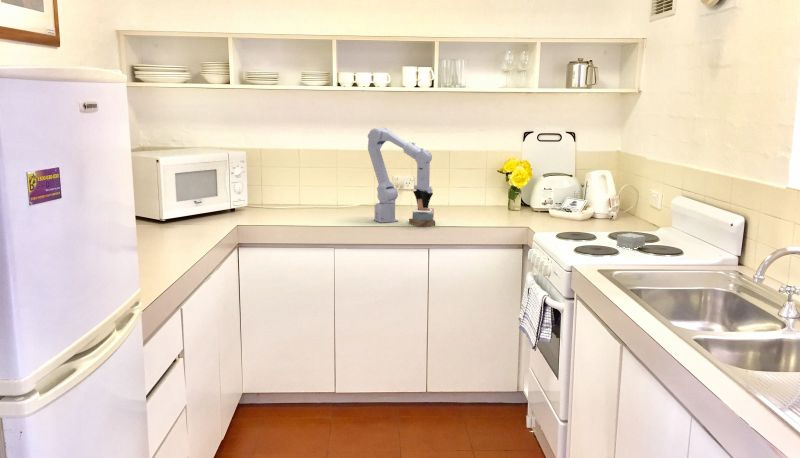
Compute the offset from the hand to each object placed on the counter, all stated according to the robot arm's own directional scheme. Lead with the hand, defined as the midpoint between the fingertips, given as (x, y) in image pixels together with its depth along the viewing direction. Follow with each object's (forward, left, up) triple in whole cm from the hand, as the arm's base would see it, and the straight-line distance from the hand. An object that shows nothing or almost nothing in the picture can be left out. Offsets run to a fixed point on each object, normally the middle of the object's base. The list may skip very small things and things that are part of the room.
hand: (422, 206), depth 312 cm
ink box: (+10, +17, -6) cm, 20 cm away
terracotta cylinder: (0, 0, -2) cm, 2 cm away
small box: (+54, -76, -9) cm, 94 cm away
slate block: (0, 0, -6) cm, 6 cm away
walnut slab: (0, 0, -9) cm, 9 cm away
